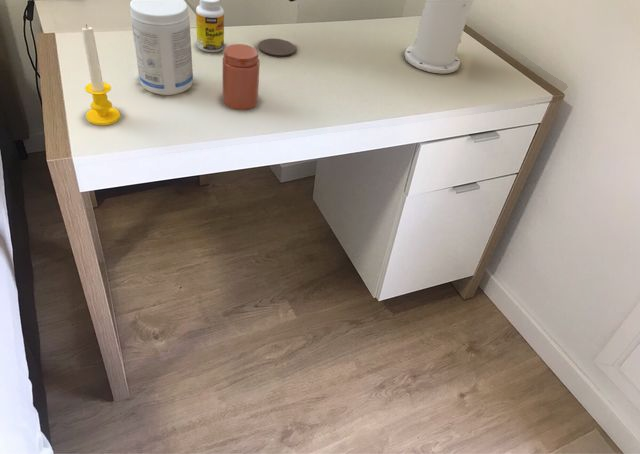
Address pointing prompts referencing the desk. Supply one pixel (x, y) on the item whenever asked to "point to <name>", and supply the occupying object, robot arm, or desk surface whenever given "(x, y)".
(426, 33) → the robot arm
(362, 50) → the desk surface
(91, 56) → the candle
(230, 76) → the jar
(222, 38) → the supplement bottle
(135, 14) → the supplement tub
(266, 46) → the coaster
